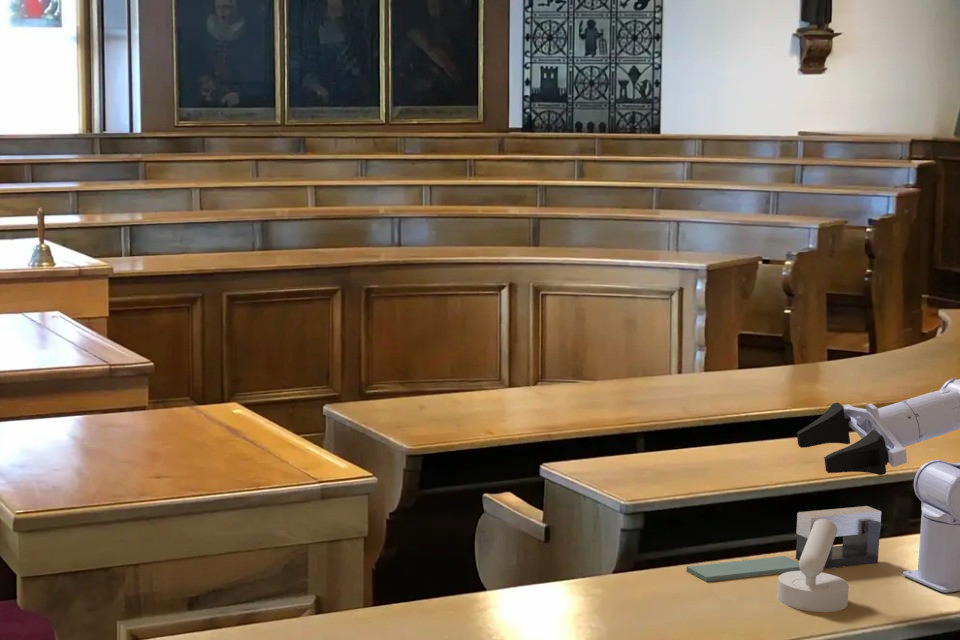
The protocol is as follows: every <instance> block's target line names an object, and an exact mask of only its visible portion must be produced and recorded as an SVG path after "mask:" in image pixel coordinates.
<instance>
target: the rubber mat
mask: <svg viewBox="0 0 960 640" xmlns="http://www.w3.org/2000/svg"><path fill="white" fill-rule="evenodd" d="M685 570H686V572H688V573H690V574H691V575H693V576H695V577H697V578H699V579H701V581H704V582H714V581H715V582H716V581H723V580H733V579H734V580H735V579H742V578H752V577H758V576H759V577H760V576H769V575H776V574H783V573H786V572H790V571H801V570H800V568H799V561H797V560H794V559H792V558H790V557H788V556H786V555H782V556H774V557H773V556H772V557H764V558H763V557H762V558H755V559H746V560H737V561H736V560H735V561H727V562H726V561H725V562H718V563H707V564H699V565H689V566H686V569H685Z"/></svg>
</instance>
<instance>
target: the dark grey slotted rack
mask: <svg viewBox="0 0 960 640" xmlns="http://www.w3.org/2000/svg"><path fill="white" fill-rule="evenodd" d="M880 533H881V525H880V522H878V521H870V522H865V530H864V534H858V535H848V536H842V545H836V546H834V543H833V544H832V547H831V550H830V552H829V555H828V558H827V560H826V563H825V566H824V568H823V570H826V569H834V568H833V567H836V568H844V567H843V566H845V567H851V566H863V565H869V564H870V565H871V564H878V563H879V550H880V549H879V547H880V535H881V534H880ZM796 535H797V536H796V549H795V559H796V560H798V561H800V558H801V555H802V552H803V550H804V547H805V545H806V542H807V540H808V538H806V537H803V536H801V535H799V534H796Z"/></svg>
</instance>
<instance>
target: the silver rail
mask: <svg viewBox="0 0 960 640" xmlns="http://www.w3.org/2000/svg"><path fill="white" fill-rule="evenodd" d="M796 517H797V518H796V535H797V534H799V535H801V536H803V537H806V538H808V537H809V535H810V532H811V530H812V527H813V525H814V523H815V521H817V520H819V519H827V520H829V521H831V522H833V523H834V524H835V526H836V528H837V533H836V536H835V538H836V537H843V536H848V535H858V534H864V530H865V522H870V521H878V522H880V526H881V525H882V523H881V522H882V510H879V509H876V508H873V507H871V506H868V505H864V506H853V507H851V506H850V507H843V508H841V507H840V508H832V509H831V508H830V509H821V510H820V509H818V510H809V511H798V512H797V515H796Z"/></svg>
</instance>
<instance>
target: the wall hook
mask: <svg viewBox="0 0 960 640" xmlns="http://www.w3.org/2000/svg"><path fill="white" fill-rule="evenodd" d="M836 533H837V528H836V526H835V524H834V523H833V522H831V521H829V520H827V519H819V520H817V521H815V523H814V525H813V527H812V530H811V532H810V535H809V537H808V540H807V542H806V545H805V547H804V550H803V552H802V555H801V558H800V560H798V562H799V568H800V570H801V571H790V572H786V573H780V575H779V576H778V578H777V580H778V581H777V595H776V596H777V597H776V598H777V600H778V601H779V602H780V603H782V604H783V605H786V606H787V607H790V608H793V609H797V610H801V611H806V612H807V611H808V612H817V613H832V612H833V613H834V612H838V610H839V611H842V610H844V609H846V608H847V607H848V604H849V603H848V601H849V583H848V582H847V581H846V580H845V579H843V578H841V577H839V576H837V575H833V574H830V573H826V572H823V571H824V569H823V568H824V566H825V563H826V560H827V558H828V555H829V552H830V550H831V547H832V546H833V545H834V541H835V539H836V537H835V536H836ZM832 544H833V545H832ZM846 606H847V607H846ZM845 607H846V608H845ZM841 609H842V610H841Z"/></svg>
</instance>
